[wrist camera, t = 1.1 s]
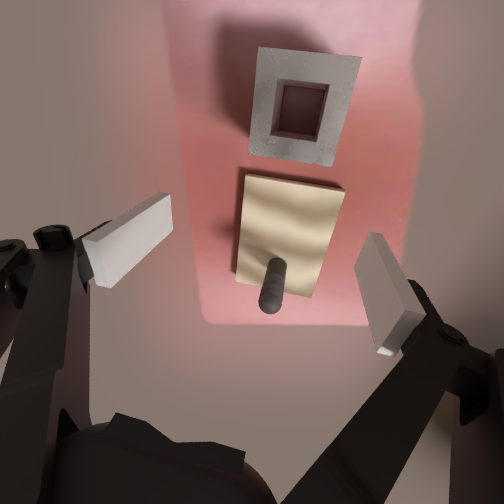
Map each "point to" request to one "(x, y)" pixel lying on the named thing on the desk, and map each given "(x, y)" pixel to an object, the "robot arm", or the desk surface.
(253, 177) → the board
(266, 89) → the gray cube
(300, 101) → the desk surface
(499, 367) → the robot arm
